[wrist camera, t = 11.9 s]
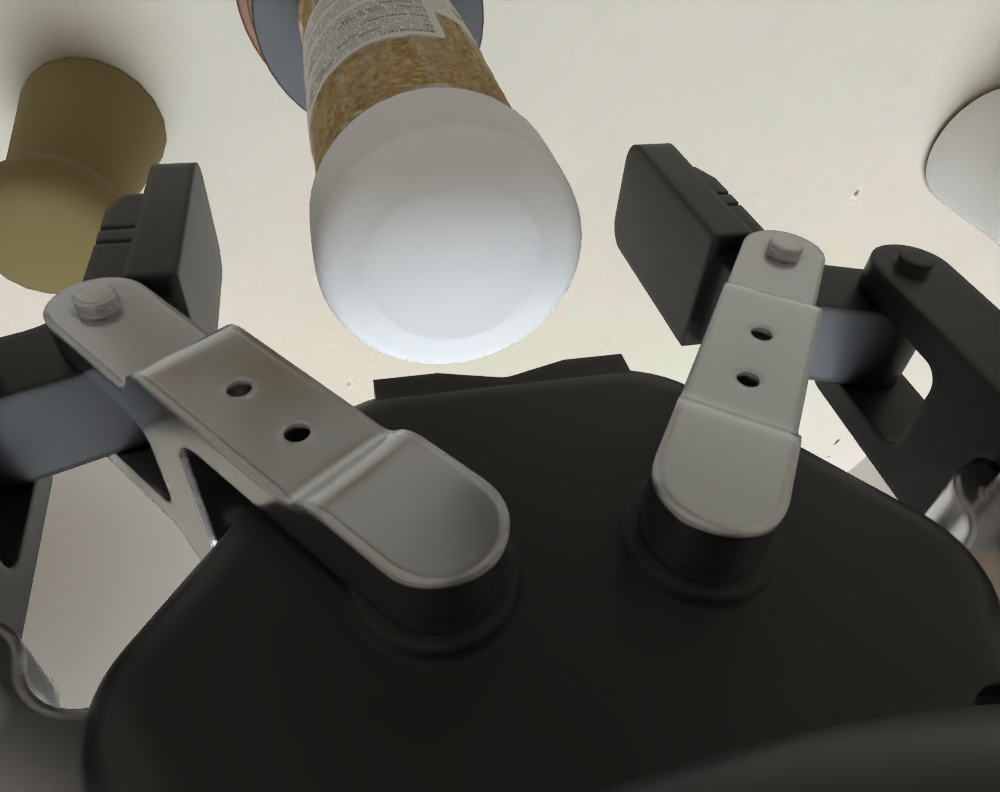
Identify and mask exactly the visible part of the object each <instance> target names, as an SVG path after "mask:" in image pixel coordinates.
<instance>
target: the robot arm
mask: <svg viewBox="0 0 1000 792" xmlns="http://www.w3.org/2000/svg"><path fill="white" fill-rule="evenodd" d="M100 229H101V231H99V232H98V235H97V238H96V245H94V247H93V251H92V254H91V257H90V260H89V263H88V266H87V269H86V272H85V275H84V278H83V281H82V282H80V283H78V284H75V285H72V286H70V287H68V288H66V289H64V290H62V291H61V292H59V293H58V294H56V295H55V296H54V297H53V298H52V299H51V300H50V301H49V302H48V303H47V305H46V306H45V309H44V312H43V318H44V320H45V324H43V325H41V326H38V327H35V328H33V329H30V330H26V331H23V332H20V333H16V334H12V335H8V336H4V337H1V338H0V792H1000V310H999V309H998V308H997V307H996V306H995V305H994V304H992V303H991V302H990V301H989V300H988V299H987V298H986V297H985V296H984V295H982V294H981V293H980V292H979V291H978V290H977V289H976V288H975V287H974V286H972V285H971V284H970V283H969V282H968V281H967V280H966V279H965V278H964V277H963V276H961V275H960V274H959V273H958V272H957V271H956V270H955V269H954V268H953V267H951V266H950V265H949V264H948V263H947V262H945V261H944V260H943V259H941V258H939V257H938V256H936V255H934V254H932V253H929V252H927V251H924V250H922V249H919V248H915V247H911V246H905V245H883V246H880V247H877V248H876V249H874V250H873V252H872V253H871V255H870V257H869V260H868V262H867V264H866V266H865V268H864V270H863V269H855V268H846V267H838V266H829V265H824V264H825V257H824V254H823V252H822V251H821V250H820V249H819V248H818V247H817V246H816V245H815V244H813V243H812V242H810V241H808V240H806V239H804V238H802V237H800V236H797V235H794V234H791V233H787V232H782V231H774V230H764V229H763V228H762V227H761V226H760V225H759V224H758V223H757V222H756V221H755V220H754V219H753V218H752V217H751V215H750V214H749V213H748V212H747V211H746V210H745V209H744V208H743V207H742V206H741V205H738V202H737V201H736V199H735V198H734V197H733V196H732V195H731V194H729V195H728V191H727V190H726V189H725V188H724V187H723V186H722V185H721V184H720V182H719V181H718V180H717V179H716V178H714V177H712V176H710V175H709V174H707V173H705V172H703V171H701V170H700V169H698V168H696V167H693V166H692V165H691V164H690V163H689V162H688V161H687V160H686V159H685V158H684V157H683V155H682V154H681V153H680V152H679V151H678V150H677V149H676V148H675V147H674V146H673V145H672V144H670V143H665V144H642V145H633V146H632V147H631V148H630V150H629V152H628V154H627V158H626V162H625V168H624V173H623V178H622V184H621V189H620V194H619V200H618V205H617V210H616V216H615V238H616V242H617V245H618V248H619V249H620V251H621V253H622V254H623V256H624V257H625V259H626V260H627V262H628V263H629V265H630V267H631V268H632V270H633V271H634V273H635V274H636V276H637V277H638V279H639V281H640V282H641V284H642V285H643V287H644V288H645V290H646V291H647V293H648V295H649V296H650V298H651V299H652V301H653V302H654V304H655V305H656V307H657V309H658V310H659V312H660V313H661V315H662V316H663V318H664V320H665V321H666V323H667V324H668V326H669V327H670V329H671V330H672V332H673V334H674V335H675V337H676V338H677V340H678V341H679V343H680V344H681V346H686V345H696V344H701V345H700V348H699V350H698V353H697V356H696V358H695V361H694V363H693V366H692V368H691V371H690V373H689V376H688V378H687V381H686V383H685V385H684V384H682V383H680V382H677V381H675V380H672V379H669V378H666V377H662V376H658V375H654V374H650V373H644V372H637V371H630V369H629V367H628V366H627V364H626V362H625V360H624V358H623V356H622V355H621V354H615V355H605V356H596V357H587V358H577V359H568V360H562V361H558V362H555V363H552V364H549V365H546V366H542V367H539V368H536V369H533V370H529V371H526V372H523V373H520V374H517V375H513V376H510V377H486V376H471V375H456V374H442V373H435V374H426V375H416V376H407V377H397V378H388V379H378V380H373V381H374V394H375V399H372V400H369V401H366V402H363V403H361V404H359V405H356V406H354V407H353V406H352V405H350V404H349V403H348V402H346V401H345V400H343V399H342V398H341V397H339V396H338V395H336V394H335V393H333V392H332V391H331V390H329V389H328V388H326V387H325V386H323V385H322V384H321V383H319V382H318V381H316V380H315V379H313V378H312V377H311V376H309V375H308V374H306V373H305V372H303V371H302V370H301V369H299V368H298V367H296V366H295V365H294V364H292V363H291V362H289V361H288V360H286V359H285V358H284V357H282V356H281V355H279V354H278V353H276V352H275V351H274V350H272V349H271V348H269V347H268V346H266V345H265V344H264V343H262V342H261V341H259V340H258V339H256V338H255V337H254V336H252V335H251V334H249V333H248V332H247V331H245V330H244V329H242V328H240V327H239V326H237V325H233V324H229V325H226V326H225V327H223V328H221V329H219V330H218V318H219V306H220V294H221V282H222V264H221V256H220V249H219V244H218V240H217V235H216V231H215V227H214V223H213V218H212V214H211V210H210V206H209V202H208V197H207V193H206V189H205V185H204V180H203V176H202V173H201V170H200V167H199V165H198V163H174V164H152V165H151V167H150V171H149V175H148V179H147V183H146V186H145V190H144V194H125V195H123V196H121V197H120V198H119V199H118V200H117V201H116V202H115V203H113V204H112V205H111V206H110V207H109V208H108V209H107V210H106V211H105V214H104V217H103V220H102V223H101V226H100ZM915 350H917V351H918V352H919V353H920V354H921V355H922V357H923V358H924V359H925V360H926V361H927V362H928V364H929V366H930V368H931V371H932V377H933V382H932V387H931V390H930V392H929V394H928V395H927V397H926V398H925V400H924V399H923V398H922V397H921V396H920V394H919V393H918V392H917V391H916V390H915V389H914V387H913V386H912V385H911V384H910V383H909V382H908V380H907V379H906V378H905V377H904V376H903V375H902V372H903V371H904V369H905V367H906V366H907V364H908V362H909V360H910V359H911V357H912V355H913V354H914V352H915ZM809 379H810V380H815V383H816V385H817V387H818V388H819V390H820V391H821V393H822V394H823V395H824V397H825V398H826V400H827V401H828V402H829V404H830V405H831V407H832V408H833V409H834V411H835V412H836V414H837V415H838V416H839V418H840V419H841V421H842V422H843V423H844V425H845V426H846V428H847V429H848V430H849V432H850V433H851V435H852V436H853V437H854V439H855V440H856V442H857V443H858V444H859V446H860V447H861V449H862V450H863V451H864V453H865V454H866V456H867V457H868V458H869V460H870V461H871V463H872V464H873V465H874V467H875V468H876V470H877V471H878V472H879V474H880V475H881V477H882V478H883V479H884V481H885V482H886V484H887V485H888V486H889V488H890V489H891V491H892V492H893V493H894V494H895V496H896V497H897V499H898V500H897V499H895V498H893V497H891V496H889V495H888V494H886V493H884V492H882V491H880V490H878V489H877V488H875V487H873V486H871V485H869V484H867V483H865V482H864V481H862V480H860V479H858V478H856V477H854V476H853V475H851V474H849V473H847V472H845V471H844V470H842V469H840V468H838V467H836V466H834V465H833V464H831V463H829V462H827V461H825V460H823V459H822V458H820V457H818V456H816V455H814V454H812V453H811V452H809V451H807V450H805V449H803V448H801V435H799V434H798V430H799V425H800V420H801V415H802V410H803V405H804V400H805V395H806V390H807V385H808V380H809ZM107 456H108V458H109V459H110V461H111V462H112V463H113V464H114V465H115V466H116V467H117V468H119V469H120V470H121V471H122V472H123V473H124V474H125V475H126V476H127V477H128V478H129V479H130V480H131V481H132V482H133V483H134V484H135V485H136V486H137V487H139V489H141V490H142V491H143V492H144V493H145V494H146V495H147V496H148V497H149V498H150V499H151V500H152V501H153V502H154V503H155V504H156V505H157V506H158V507H159V508H160V509H161V510H162V511H163V512H164V513H165V514H166V515H168V516H169V517H170V518H171V519H172V520H173V521H174V522H175V524H176V525H177V526H178V527H179V528H180V530H181V531H182V532H183V534H184V535H185V537H186V538H187V540H188V542H189V543H190V545H191V546H192V548H193V549H194V551H195V552H196V554H197V555H198V556H199V558H200V559H201V560H202V561H201V562H200V563H199V564H198V565H197V566H196V568H195V569H194V570H193V571H192V572H191V573H190V574H189V576H188V577H187V578H186V579H185V580H184V581H183V582H182V584H181V585H180V586H179V587H178V588H177V589H176V590H175V592H174V593H173V594H172V595H171V596H170V597H169V599H168V600H167V601H166V602H165V603H164V604H163V605H162V606H161V608H160V609H159V610H158V611H157V612H156V613H155V614H154V616H153V617H152V618H151V619H150V620H149V621H148V622H147V623H146V625H145V626H144V627H143V628H142V629H141V631H140V632H139V633H138V634H137V635H136V636H135V637H134V638H133V639H132V641H131V642H130V643H129V644H128V645H127V646H126V647H125V649H124V650H123V651H122V652H121V654H120V655H119V656H118V657H117V659H116V660H115V661H114V663H113V664H112V665H111V667H110V668H109V670H108V671H107V673H106V674H105V676H104V678H103V679H102V681H101V683H100V685H99V687H98V689H97V691H96V693H95V695H94V697H93V699H92V702H91V704H90V707H89V708H84V709H65V708H60V705H59V693H58V689H57V687H56V685H55V683H54V681H53V679H52V678H51V677H50V676H49V675H48V673H47V672H46V671H45V669H44V668H43V667H42V665H41V664H40V663H39V662H38V661H37V659H36V658H35V657H34V655H33V654H32V653H31V652H30V650H29V649H28V648H27V646H26V645H25V644H24V643H23V641H22V640H21V639H22V633H23V629H24V623H25V618H26V613H27V608H28V603H29V598H30V593H31V588H32V582H33V577H34V572H35V567H36V562H37V557H38V551H39V546H40V541H41V536H42V531H43V526H44V521H45V515H46V510H47V505H48V500H49V495H50V490H51V484H52V477H53V475H54V474H57V473H60V472H63V471H66V470H69V469H72V468H75V467H78V466H80V465H84V464H86V463H89V462H92V461H95V460H98V459H101V458H103V457H107Z"/></svg>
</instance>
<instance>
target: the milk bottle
mask: <svg viewBox="0 0 1000 792" xmlns="http://www.w3.org/2000/svg"><path fill="white" fill-rule="evenodd" d="M926 179H927V184H928V187H929V189H930V191H931V193H932V194H933V196H934V197H936V198H937V199H938V200H939V201H940V202H942V203H943V204H944V205H945V206H947V207H948V208H949V209H951V210H952V211H953V212H955V213H956V214H958V215H959V216H960V217H962V218H963V219H964V220H966V221H967V222H968V223H970V224H971V225H972V226H974V227H975V228H976V229H978V230H979V231H981V232H982V233H983V234H985V235H986V236H987V237H989V238H990V239H992V240H993V241H994V242H996V243H997V244H998V245H1000V89H996V90H993V91H991V92H989V93H987V94H984V95H982V96H981V97H979V98H978V99H976V100H975V101H973V102H971V103H970V104H969V105H968V106H966V107H965V108H964V109H963V110H961V111H960V112H959V113H958V114H957V115H956V116H955V117H954V118H953V119H952V120H951V121H950V122H949V123H948V125H947V126H946V127H945V128H944V130H943V131H942V132H941V134H940V135H939V137H938V139H937V140H936V142H935V143H934V146H933V148H932V150H931V152H930V154H929V158H928V161H927V164H926Z"/></svg>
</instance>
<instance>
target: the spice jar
mask: <svg viewBox="0 0 1000 792" xmlns="http://www.w3.org/2000/svg"><path fill="white" fill-rule="evenodd" d="M298 27H299V33H300V38H301V41H302V44H303V63H304V78H305V91H306V107H307V118H308V129H309V140H310V149H311V154H312V157H313V160H314V163H315V170H316V175H315V179H314V183H313V186H312V190H311V198H310V231H311V242H312V250H313V257H314V264H315V270H316V274H317V278H318V282H319V285H320V288H321V291H322V293H323V296H324V298H325V300H326V302H327V303H328V305H329V307H330V309H331V310H332V312H333V313H334V315H335V316H336V317H337V319H338V320H339V321H340V322H341V323H342V324H343V326H344V327H345V328H347V329H348V330H349V331H350V332H351V333H352V334H353V335H354V336H356V337H357V338H358V339H359V340H361V341H362V342H363V343H365V344H366V345H368V346H370V347H372V348H374V349H376V350H378V351H380V352H382V353H384V354H387V355H390V356H392V357H395V358H398V359H402V360H406V361H410V362H416V363H426V364H449V363H459V362H465V361H470V360H474V359H478V358H481V357H485V356H487V355H490V354H493V353H495V352H498V351H500V350H502V349H504V348H506V347H508V346H510V345H512V344H514V343H515V342H517V341H519V340H520V339H522V338H523V337H525V336H526V335H528V334H529V333H531V332H532V331H533V330H534V329H535V328H536V327H538V326H539V325H540V324H541V323H542V322H543V321H544V320H545V319H546V318H547V317H548V316H549V315H550V313H551V312H552V311H553V310H554V309H555V307H556V306H557V305H558V304H559V302H560V301H561V299H562V298H563V296H564V294H565V292H566V291H567V289H568V287H569V285H570V283H571V281H572V278H573V276H574V273H575V270H576V267H577V264H578V260H579V254H580V249H581V238H582V233H581V220H580V214H579V209H578V205H577V202H576V199H575V196H574V194H573V191H572V189H571V187H570V185H569V182H568V181H567V179H566V177H565V175H564V173H563V171H562V170H561V168H560V166H559V164H558V163H557V161H556V160H555V158H554V156H553V155H552V153H551V151H550V150H549V148H548V147H547V145H546V144H545V142H544V141H543V139H542V138H541V136H540V135H539V133H538V132H537V131H536V130H535V128H534V127H533V126H532V125H531V124H530V123H529V122H528V121H527V120H526V119H525V118H524V117H523V116H521V115H520V114H519V113H518V112H516V111H515V110H513V109H512V108H511V106H510V104H509V103H508V101H507V99H506V97H505V95H504V93H503V92H502V90H501V89H500V87H499V85H498V83H497V81H496V80H495V77H494V75H493V73H492V71H491V70H490V68H489V67H488V65H487V64H486V62H485V60H484V57H483V55H482V53H481V51H480V48H479V46H478V44H477V43H476V41H475V40H474V38H473V36H472V35H471V33H470V31H469V30H468V28H467V26H466V25H465V23H464V21H463V20H462V18H461V16H460V15H459V13H458V12H457V10H456V9H455V7H454V6H453V4H452V3H451V2H450V0H299V4H298Z"/></svg>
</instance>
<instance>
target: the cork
mask: <svg viewBox="0 0 1000 792" xmlns="http://www.w3.org/2000/svg"><path fill="white" fill-rule="evenodd" d="M165 144H166V133H165V125H164V120H163V118H162V116H161V114H160V112H159V110H158V107H157V105H156V103H155V101H154V100H153V99H152V98H151V97H150V95H149V94H148V93H147V92H146V91H145V90H144V89H143V87H142V86H141V85H140V84H139V83H138V82H136V81H135V80H134V79H132V78H131V77H129V76H128V75H126V74H125V73H123V72H122V71H121V70H119V69H117V68H115V67H112V66H109V65H107V64H104V63H101V62H99V61H96V60H92V59H81V58H65V59H61V60H56V61H52V62H48V63H46V64H45V65H43V66H42V67H40V68H39V69H37V70H36V71H35V72H33V73H32V74H31V75H30V77H29V78H28V80H27V82H26V83H25V85H24V87H23V88H22V90H21V94H20V99H19V103H18V108H17V112H16V117H15V121H14V126H13V130H12V135H11V139H10V144H9V148H8V153H7V158H6V160H4V161H2V162H0V274H2V275H3V276H4V277H6V278H7V279H8V280H10V281H13V282H15V283H17V284H19V285H21V286H23V287H25V288H28V289H32V290H36V291H40V292H44V293H49V294H58V293H59V292H61V291H62V290H64V289H66V288H68V287H70V286H72V285H75V284H78V283H80V282H82V281H83V278H84V275H85V272H86V269H87V266H88V263H89V260H90V257H91V254H92V251H93V247H94V245H96V238H97V235H98V232H99V231H101V229H100V226H101V223H102V220H103V217H104V214H105V211H106V210H107V209H108V208H109V207H110V206H111V205H112V204H113V203H115V202H116V201H117V200H118V199H119V198H120V197H121V196H123V195H125V194H139V193H140V192H141V190H142V189H143V187H144V186H145V184H146V182H147V179H148V175H149V171H150V167H151V165H152V164H159V162H160V161H161V159H162V157H163V153H164V149H165Z"/></svg>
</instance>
